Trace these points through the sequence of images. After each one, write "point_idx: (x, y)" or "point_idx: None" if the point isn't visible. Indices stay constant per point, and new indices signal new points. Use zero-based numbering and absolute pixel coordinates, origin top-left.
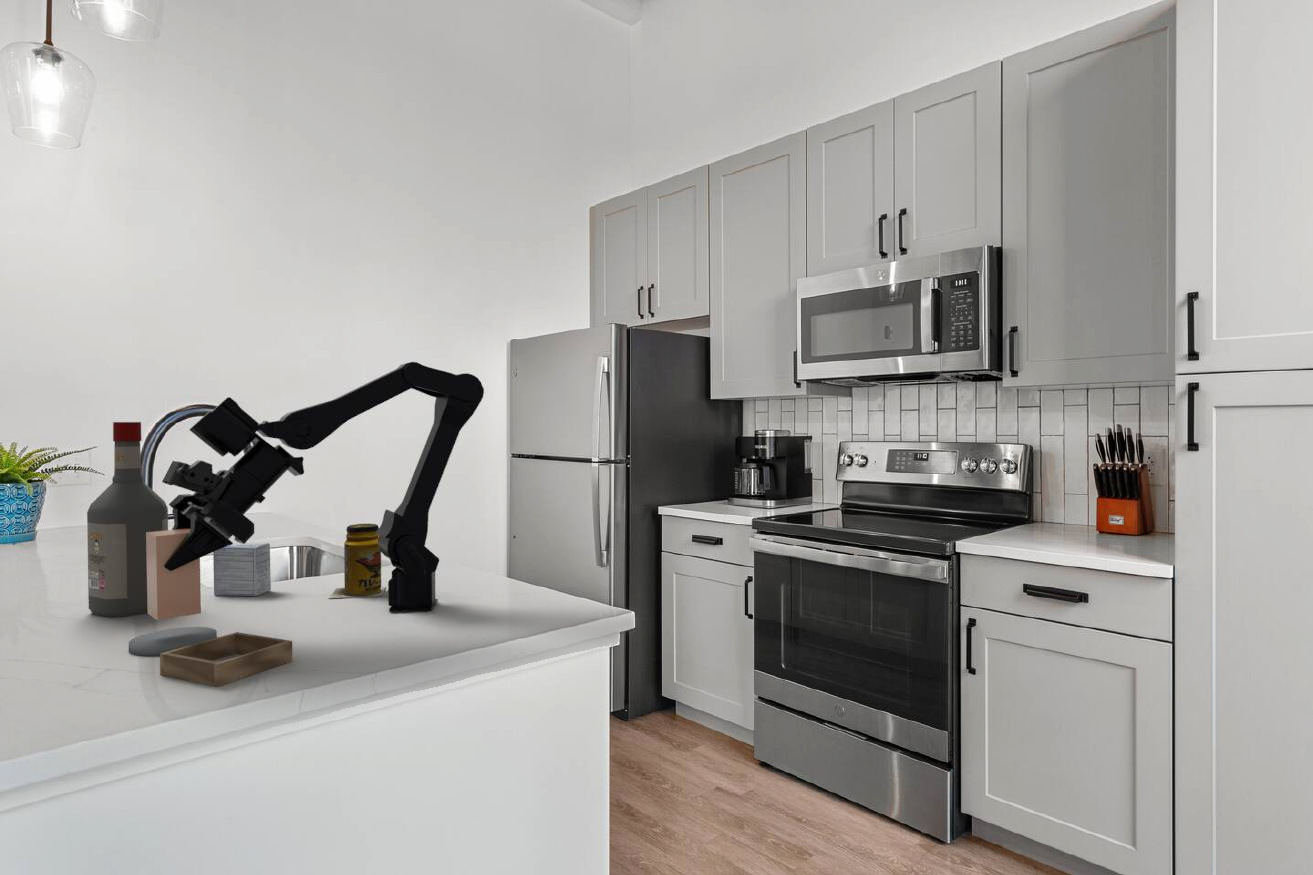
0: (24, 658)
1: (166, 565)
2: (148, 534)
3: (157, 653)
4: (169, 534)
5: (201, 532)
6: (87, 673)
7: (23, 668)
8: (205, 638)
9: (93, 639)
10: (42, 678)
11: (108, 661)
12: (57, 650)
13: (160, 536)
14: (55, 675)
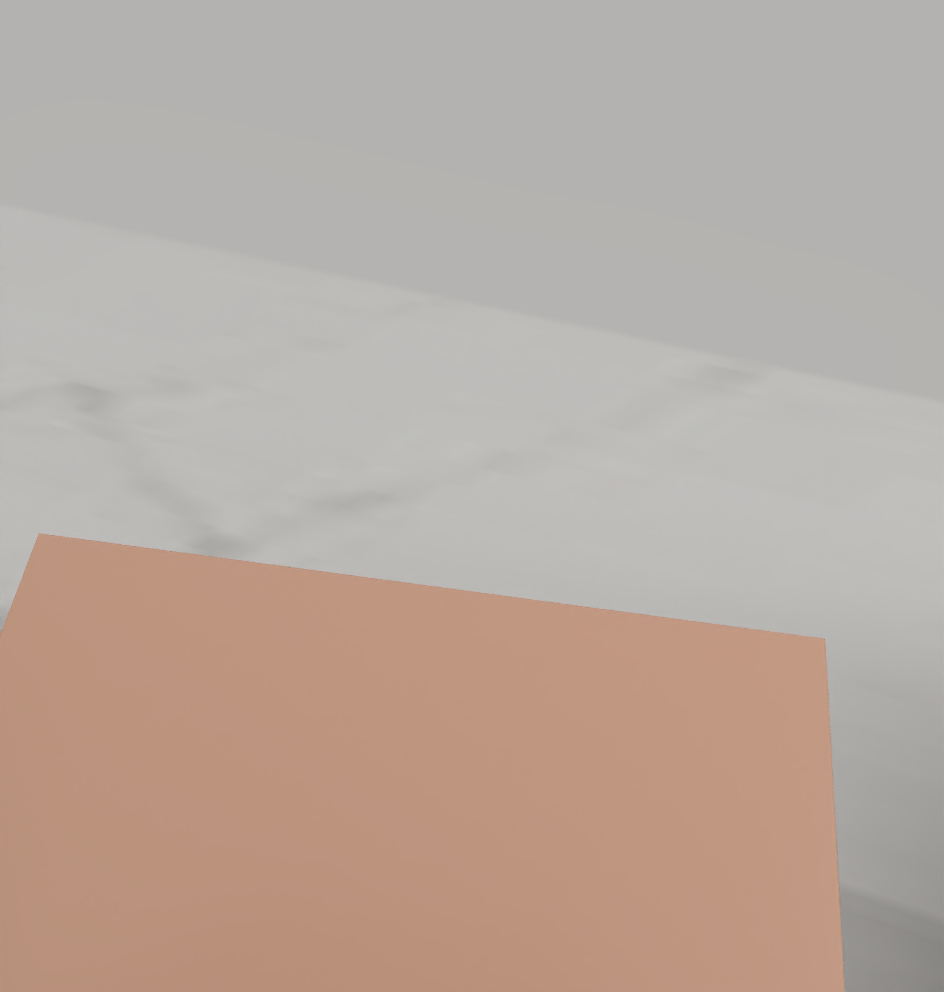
0: (739, 397)
1: None
2: (627, 623)
3: None
4: (6, 806)
5: None
6: (239, 474)
7: (562, 355)
8: None
9: (910, 694)
10: (333, 356)
11: None
12: (787, 515)
13: (9, 611)
14: (332, 394)
